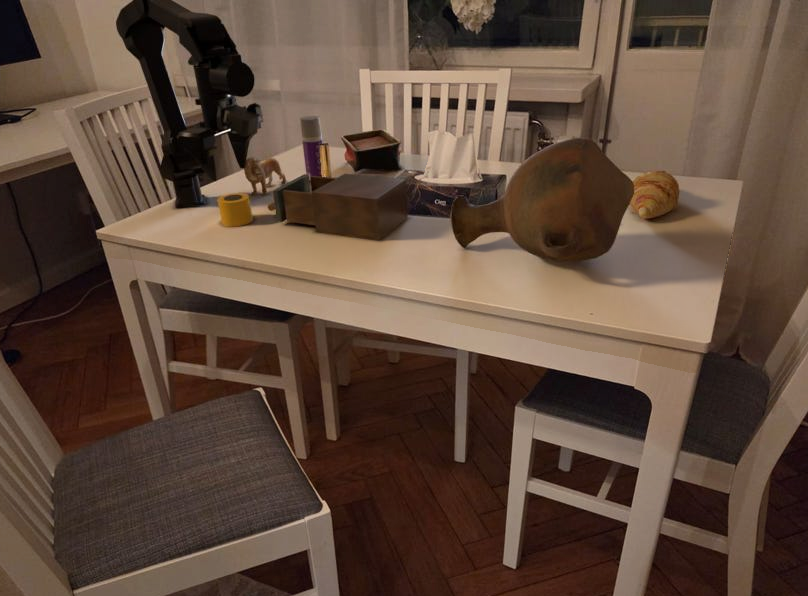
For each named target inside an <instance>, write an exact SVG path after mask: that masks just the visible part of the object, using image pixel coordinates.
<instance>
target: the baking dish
mask: <svg viewBox="0 0 808 596" xmlns="http://www.w3.org/2000/svg"><path fill="white" fill-rule="evenodd" d="M340 139H341V141H342V143H343V144H344V147H345V150H346V151H345V152H344V153H343V154H344V155H343V156H344V160H345V161H346V164H349V165H350V166H351V169H352V170H353V171H354V173H358V172H360V171H363V170H372V171H373V170H374V171H385V172H393V171H402V167H401V165H400V158H401V157H400V156H401V152H402V149H401V147H400V146H401V144H402V141H401V140H400V139H397V138H396V137H395V136H393V135H392V134H390V133H389V132H388V131H387V130H385V129H381V128H380V129H372V130H365V131H359V132H353V133H348V134H343V135H341V137H340Z"/></svg>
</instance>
